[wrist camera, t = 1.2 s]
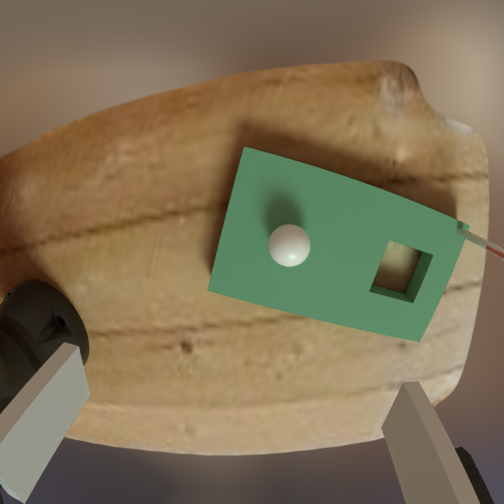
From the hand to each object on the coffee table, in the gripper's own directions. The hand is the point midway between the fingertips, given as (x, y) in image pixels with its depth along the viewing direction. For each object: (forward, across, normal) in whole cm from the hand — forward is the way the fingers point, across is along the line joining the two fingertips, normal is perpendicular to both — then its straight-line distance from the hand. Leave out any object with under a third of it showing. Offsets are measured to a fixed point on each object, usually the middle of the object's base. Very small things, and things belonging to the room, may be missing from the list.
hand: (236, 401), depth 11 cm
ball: (+17, +3, +2) cm, 17 cm away
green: (+21, +9, +1) cm, 23 cm away
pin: (+19, +19, +5) cm, 27 cm away
